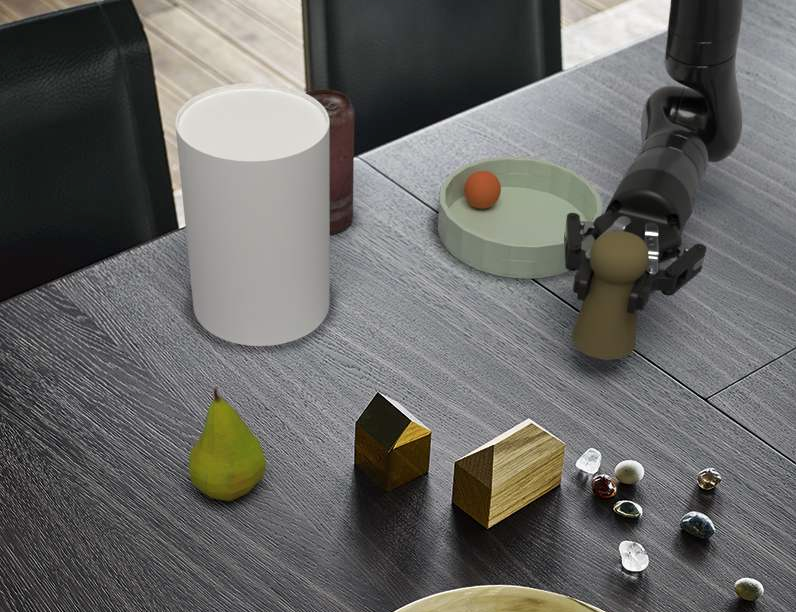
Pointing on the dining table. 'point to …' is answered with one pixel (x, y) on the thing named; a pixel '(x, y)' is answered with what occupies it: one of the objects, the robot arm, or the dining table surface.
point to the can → (339, 156)
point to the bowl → (516, 217)
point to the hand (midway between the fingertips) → (607, 298)
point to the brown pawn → (611, 296)
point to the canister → (256, 211)
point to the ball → (482, 189)
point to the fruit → (226, 454)
